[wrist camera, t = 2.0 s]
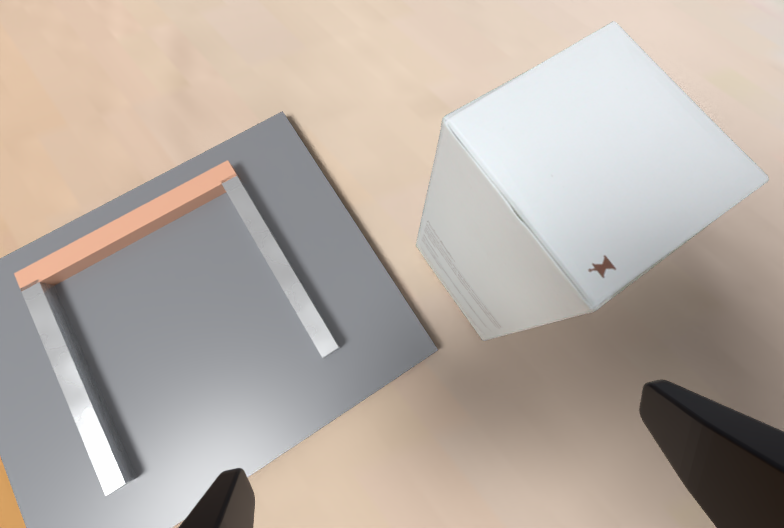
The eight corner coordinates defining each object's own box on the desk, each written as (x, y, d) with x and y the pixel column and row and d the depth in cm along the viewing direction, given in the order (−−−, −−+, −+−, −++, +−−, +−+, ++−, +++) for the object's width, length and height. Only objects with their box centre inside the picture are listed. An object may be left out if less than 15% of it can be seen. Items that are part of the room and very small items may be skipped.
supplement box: (579, 277, 24) (786, 183, 11) (481, 344, 23) (592, 320, 10) (506, 183, 25) (620, 11, 13) (410, 242, 24) (436, 114, 12)
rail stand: (436, 350, 22) (440, 349, 21) (68, 596, 19) (36, 618, 17) (285, 118, 26) (278, 101, 24) (-45, 292, 23) (-81, 286, 21)
